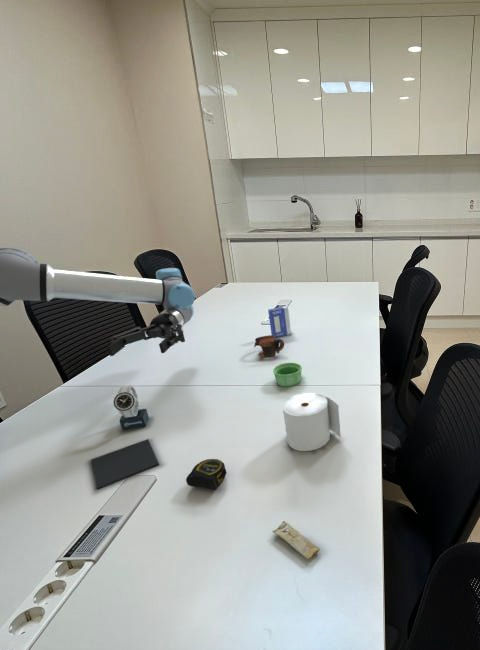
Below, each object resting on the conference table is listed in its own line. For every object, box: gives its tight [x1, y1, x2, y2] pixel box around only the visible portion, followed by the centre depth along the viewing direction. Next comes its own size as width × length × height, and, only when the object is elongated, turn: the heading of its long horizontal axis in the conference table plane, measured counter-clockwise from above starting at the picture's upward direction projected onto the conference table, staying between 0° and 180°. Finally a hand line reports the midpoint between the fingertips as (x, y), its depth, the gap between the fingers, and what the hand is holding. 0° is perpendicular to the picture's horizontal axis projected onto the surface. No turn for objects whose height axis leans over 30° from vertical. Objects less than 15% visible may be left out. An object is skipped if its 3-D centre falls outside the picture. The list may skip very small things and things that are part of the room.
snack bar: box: [272, 520, 321, 559], centre depth 68 cm, size 10×2×3 cm
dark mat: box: [90, 438, 160, 490], centre depth 89 cm, size 12×12×1 cm
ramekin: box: [272, 362, 303, 387], centre depth 124 cm, size 9×9×4 cm
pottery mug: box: [253, 334, 285, 360], centre depth 144 cm, size 12×10×8 cm
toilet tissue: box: [282, 392, 342, 452], centre depth 95 cm, size 11×12×10 cm
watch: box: [112, 385, 150, 432], centre depth 102 cm, size 6×8×11 cm
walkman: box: [267, 305, 292, 339], centre depth 160 cm, size 8×3×12 cm, turn 126°
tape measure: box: [185, 458, 228, 491], centre depth 82 cm, size 7×7×4 cm
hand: (135, 350), depth 106 cm, fingers open, 13 cm apart
